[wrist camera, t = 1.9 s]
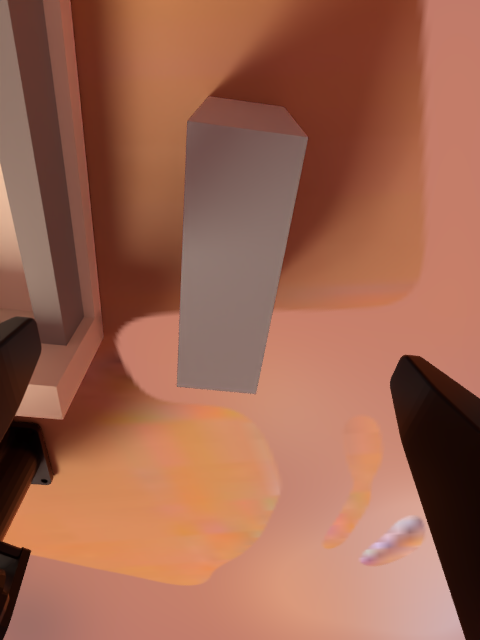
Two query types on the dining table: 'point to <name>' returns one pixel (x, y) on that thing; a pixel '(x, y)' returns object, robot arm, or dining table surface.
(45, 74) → the track
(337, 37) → the dining table surface
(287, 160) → the grey rectangular block
